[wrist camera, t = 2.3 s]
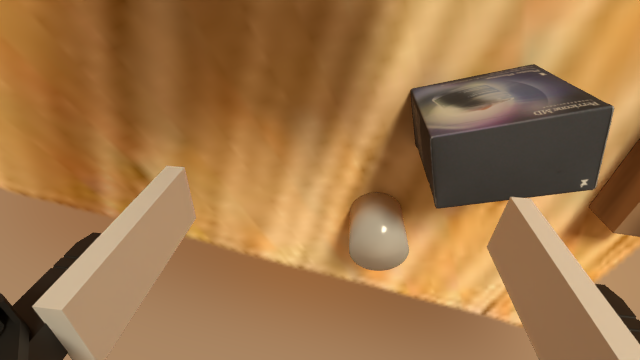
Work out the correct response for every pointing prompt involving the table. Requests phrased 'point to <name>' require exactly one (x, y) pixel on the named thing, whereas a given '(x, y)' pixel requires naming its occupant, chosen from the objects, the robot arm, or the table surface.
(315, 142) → the table surface
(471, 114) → the small box
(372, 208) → the beige rounded piece
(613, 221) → the walnut rail
